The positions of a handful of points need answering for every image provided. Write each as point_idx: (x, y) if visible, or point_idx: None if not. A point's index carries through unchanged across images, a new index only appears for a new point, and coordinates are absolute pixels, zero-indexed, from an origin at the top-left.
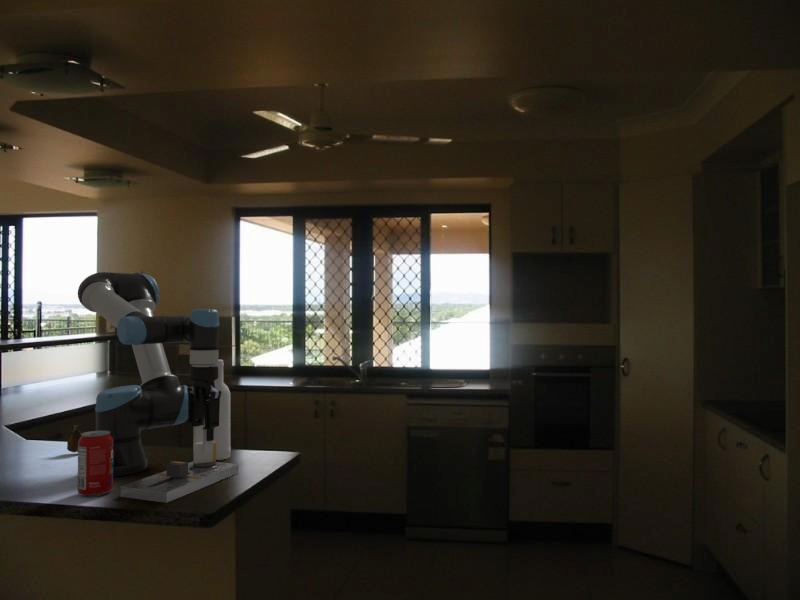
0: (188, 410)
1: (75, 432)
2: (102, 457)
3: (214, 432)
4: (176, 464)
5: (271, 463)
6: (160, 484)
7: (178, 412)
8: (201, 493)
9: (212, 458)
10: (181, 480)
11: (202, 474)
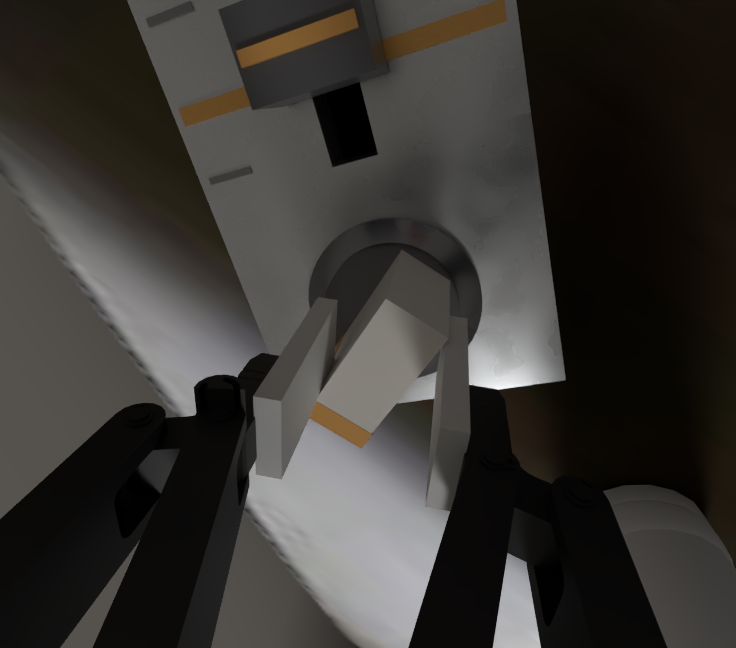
0: (652, 628)
1: None
2: None
3: None
4: (259, 2)
5: (331, 545)
6: None
7: None
8: (121, 55)
9: (340, 342)
10: (220, 4)
11: (252, 183)
